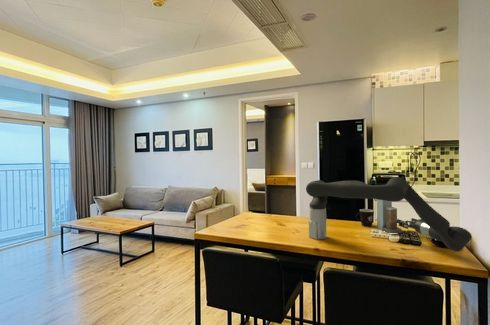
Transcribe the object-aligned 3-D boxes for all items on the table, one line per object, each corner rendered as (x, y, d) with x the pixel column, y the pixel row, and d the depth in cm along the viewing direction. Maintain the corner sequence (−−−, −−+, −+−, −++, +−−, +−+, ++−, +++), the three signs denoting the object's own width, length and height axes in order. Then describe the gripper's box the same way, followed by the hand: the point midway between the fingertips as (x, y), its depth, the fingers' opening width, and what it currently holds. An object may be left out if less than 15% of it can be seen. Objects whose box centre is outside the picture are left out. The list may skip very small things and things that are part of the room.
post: (393, 230, 164) (392, 192, 163) (382, 231, 163) (382, 192, 162) (386, 227, 171) (385, 190, 170) (376, 228, 170) (375, 191, 169)
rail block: (397, 233, 158) (396, 208, 157) (390, 233, 158) (390, 208, 157) (392, 231, 162) (392, 206, 161) (386, 231, 162) (386, 207, 161)
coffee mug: (372, 223, 180) (372, 209, 179) (375, 227, 171) (375, 212, 171) (354, 223, 182) (353, 208, 182) (356, 226, 174) (355, 211, 174)
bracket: (401, 233, 157) (401, 228, 157) (390, 234, 156) (390, 229, 156) (393, 230, 164) (392, 225, 164) (382, 230, 164) (382, 226, 163)
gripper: (440, 220, 133) (416, 213, 149) (414, 222, 131) (392, 214, 148) (440, 235, 133) (416, 226, 149) (414, 237, 132) (392, 228, 148)
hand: (404, 220), depth 148 cm, fingers open, 8 cm apart
